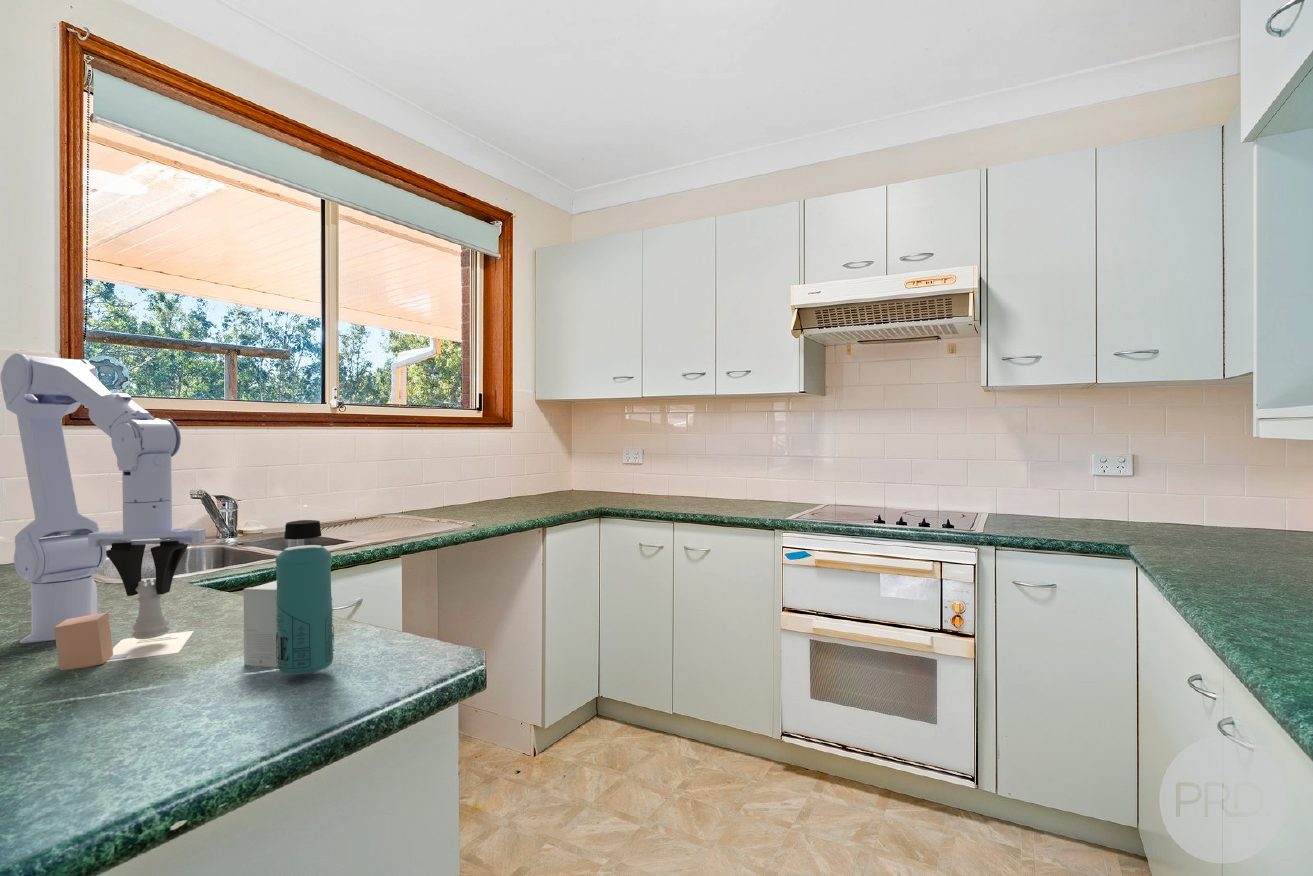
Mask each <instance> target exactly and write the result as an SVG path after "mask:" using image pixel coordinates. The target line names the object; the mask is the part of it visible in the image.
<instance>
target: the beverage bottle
mask: <svg viewBox="0 0 1313 876" xmlns="http://www.w3.org/2000/svg"><path fill="white" fill-rule="evenodd" d="M284 526H285V529H284V537H283V538H284V539H285V540H307V539H316V538H320V537H322V529H321V522H320V520H316V519H302V520H301V519H300V520H294V521H293V520H292V521H288V522H286V523H285V525H284ZM275 557H276V558H275V568H276V571H275V572H276V573H275V574H276V581H277V588H276V589H277V599H276V600H277V614H276V615H277V621H276V622H277V624H276V625H277V635H276V656H277V648H278V658H277V659H278V662H277V663H278V665H277V666H278V667H277V668H278V670H279V672H280V673H282V674H286V675H300V674H302V675H303V674H308V673H314V672H317V671H318V672H319V671H321V670H323V669H326V668H327V667H330V666H331V665H332V663H333V659H334V658H335V656H334V655H335V654H334V653H335V652H334V651H335V650H334V648H335V645H334V642H335V626H334V624H333V621H334V612H333V611H334V608H333V602H332V601H334V600H333V598H332V569H331V563H332V561H331V558H332V553H331V552H330V551H329V550H328V549H326V548H325V547H324V546H323V545H319V544H318V545H316V544H308V545H298V546H297V545H296V546H291V547H286V548H284V549H283V550H282V551H281V552H280V553H279V554H278V555H277V556H275ZM277 641H278V647H277ZM276 661H277V660H276Z"/></svg>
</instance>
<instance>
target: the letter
mask: <svg viewBox="0 0 1313 876" xmlns="http://www.w3.org/2000/svg"><path fill="white" fill-rule="evenodd" d="M194 632H195V631H194V630H190V631H181V632H172V633H166V634H165V635H162V636H159V637H155V638H150V639H135V638H134V637H131V638H129V637H128V638H123V639H121V640H120V641H119V642H118V643H117V644H115V646H114V647H113V655H112V656H111V657H110V658H109V659H108V660H107V661H105V662H104V663H110V662H119V661H124V660H132V659H133V660H134V659H141V658H148V657H157V656H163V655H164V656H165V655H166V656H167V655H173V654H178V653H179V652H181V650H182V648H183V647H184V646H185V645H186V643H187V642H188V640H189V639H190V637H192V635H193V633H194Z"/></svg>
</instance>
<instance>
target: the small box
mask: <svg viewBox="0 0 1313 876" xmlns="http://www.w3.org/2000/svg"><path fill="white" fill-rule="evenodd" d="M276 588H277V580H273V581H269V582H267V583H263V584H261V585H256V586H252V587H246V588H243V665H244V666H253V667H255V666H256V667H267V668H269V667H270V668H278V666H277V665H278V663H277V662H278V659H277V658H278V648H277V656H276V635H277V625H276V624H277V622H276V621H277V615H276V614H277V600H276V599H277V589H276ZM277 647H278V641H277ZM276 660H277V661H276Z"/></svg>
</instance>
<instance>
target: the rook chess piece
mask: <svg viewBox="0 0 1313 876" xmlns="http://www.w3.org/2000/svg"><path fill="white" fill-rule="evenodd" d="M145 581H146V582H145ZM145 581H144V580H141V581H140V582H138V586H137V588H136V589H135V590H136V591H137V592H138V595H139V597H138V598H137V601H138V602H139V609H138V614H137V615H138V616H137V619H136V620H135V623H134V624H133V625H132V631H134V632H133V633H132V634H131V636H132V638H135V639H150V638H155V637H159V636H162V635H165V634H168V632H169V631H170V627H169V626H168V625H169V624H170V622H169V620H168V618H166V615H164V613H163V611H162V606H161V598H162V595H157V592H156V578H153V580H152V581H151V579H146V580H145Z"/></svg>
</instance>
